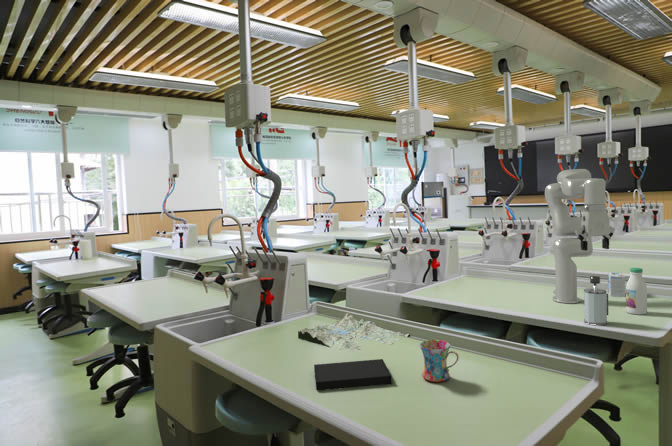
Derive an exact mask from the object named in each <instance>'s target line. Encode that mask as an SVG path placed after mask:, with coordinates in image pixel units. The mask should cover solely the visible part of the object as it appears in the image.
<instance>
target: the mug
mask: <svg viewBox="0 0 672 446" xmlns="http://www.w3.org/2000/svg"><path fill="white" fill-rule="evenodd" d="M419 347H420V350H421V352H422V357H423V360H424V361H423V362H424V366H423V370H422V374H421V377H422V378H423V379H425V380H427V381H430V382H439V383H440V382H445V381H447V380H448V379H449V378H450V377H451V375H450V373H449V372H450V370H449V369H450V368H452V367H454V366H455V365H456V364H457V363H458V361H459V358H460V357H459V354H458V353H457V352H456V351H452V350H451V351H449V350H450V348H451V344H450V343H449V342H447V341H446V340H441V339H428V340H423V341H421V342H420V343H419ZM450 354H454V355H455V356H456V360H455V362H454V363H453V364H452V365H449V366H447V364H448V363H447V359H448V357H449V355H450Z"/></svg>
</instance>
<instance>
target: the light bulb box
mask: <svg viewBox="0 0 672 446" xmlns="http://www.w3.org/2000/svg"><path fill="white" fill-rule="evenodd" d="M607 294H608V296H610V297H613V298H615V297H617V298H618V297H619V298H626V275H625V274H624V273H623V272H607Z"/></svg>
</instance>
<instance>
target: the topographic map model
mask: <svg viewBox="0 0 672 446" xmlns="http://www.w3.org/2000/svg"><path fill="white" fill-rule="evenodd" d="M403 335H404V336H405V338H409V337H410V336H411V334H410V333H406V334H404V333H403V332H401V331H398V332H395V331H394V330H391V329H390V330H389V329H386V328H382V327H380V326H377V325H376V323H375V322H374V321H371V320H368V321H367V320H364V318H361V319H359V320H358V319H355V317H354V315H351V314H350V313H349V312H347V313H345V314H344V317H343V318H342V319H341V320H335V321H334V322H333V323H332V324H331V325H328V324H321V325H320V324H317V326H315V327H314V328H305V327H304V328H301V329H300V330H298V331H297V338H298V339H300V340H303V341H307V342H310V343H314V344H316V345H320V346H323V347H328V348H332V347H333V346H334V345H336V346H338V349H337V350H338V351H342V350H343V351H345V350H349V349H350V350H349V352H354V351H361V348H360V347H362V345H359V341H357V340H361V341H367V342H369V341H372V340H374V342H377V343H381V344H386V345H387V346H389V345H390V346H391V345H393V344H394V342H395V341H397V342H399V341H401V339H400V338H395V337H396V336H399V337H400V336H403ZM355 338H356V340H354V339H355Z"/></svg>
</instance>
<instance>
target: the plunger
mask: <svg viewBox="0 0 672 446" xmlns="http://www.w3.org/2000/svg"><path fill="white" fill-rule="evenodd" d="M589 283H590V284H593V288H594V291H597V285H599V284H601V276H599V275H590V276H589Z"/></svg>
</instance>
